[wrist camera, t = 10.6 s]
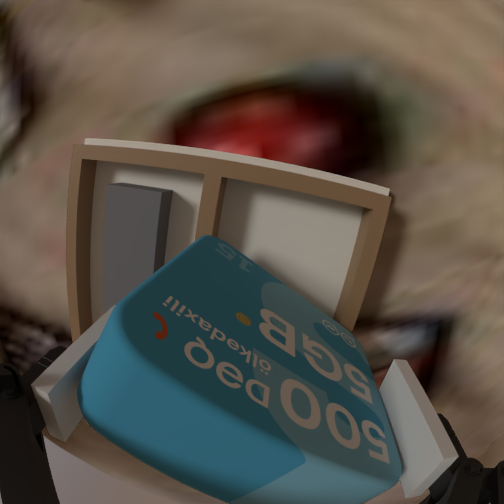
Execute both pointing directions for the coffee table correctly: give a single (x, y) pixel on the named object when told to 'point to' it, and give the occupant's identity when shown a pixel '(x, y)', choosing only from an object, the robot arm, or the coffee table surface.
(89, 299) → the slot board
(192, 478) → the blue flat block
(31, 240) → the coffee table surface
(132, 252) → the rubber bar
